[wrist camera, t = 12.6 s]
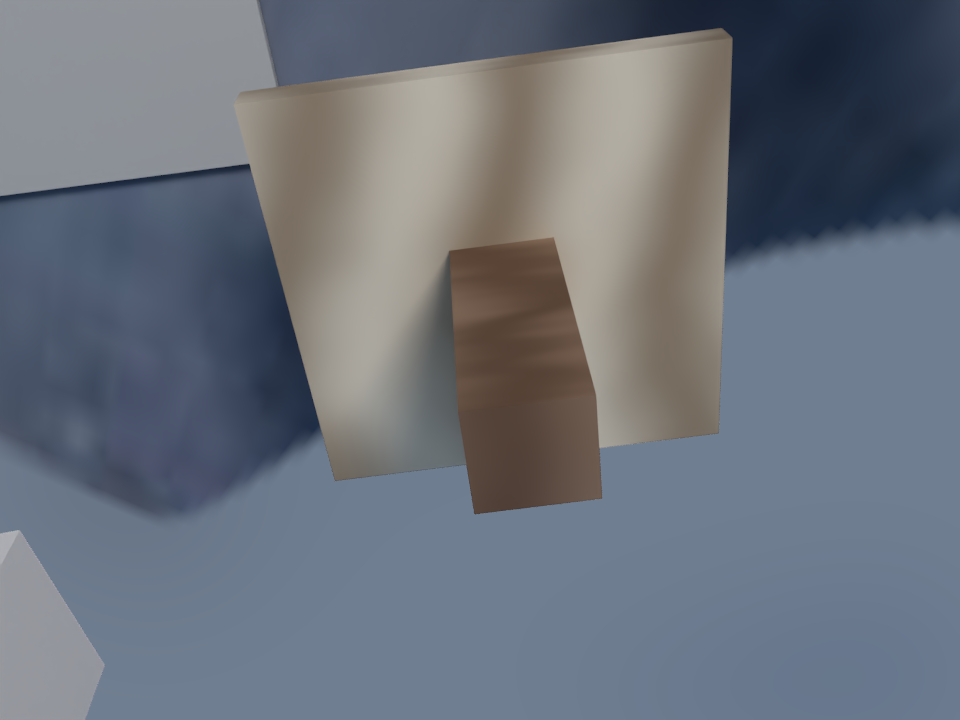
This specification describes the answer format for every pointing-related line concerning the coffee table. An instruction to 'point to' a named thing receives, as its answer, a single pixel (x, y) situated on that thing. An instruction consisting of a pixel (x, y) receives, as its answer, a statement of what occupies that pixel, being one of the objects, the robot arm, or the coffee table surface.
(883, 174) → the coffee table surface
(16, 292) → the coffee table surface
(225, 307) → the coffee table surface
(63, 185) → the mat
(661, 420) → the board
